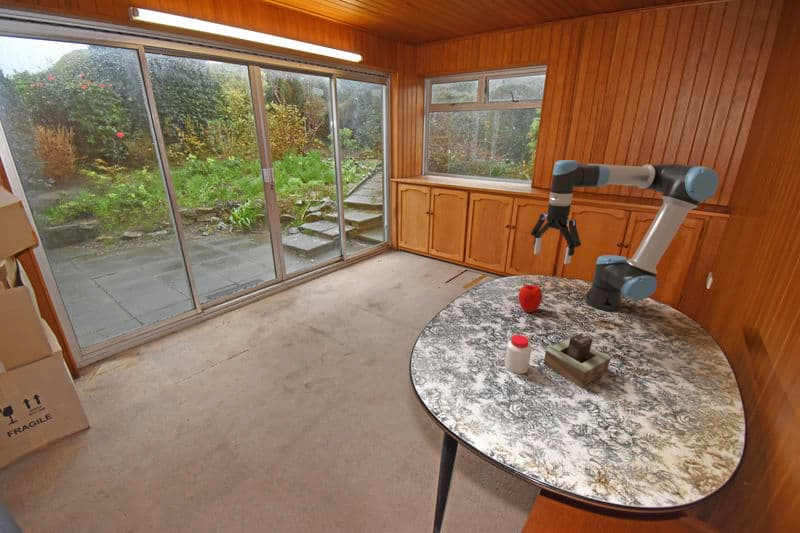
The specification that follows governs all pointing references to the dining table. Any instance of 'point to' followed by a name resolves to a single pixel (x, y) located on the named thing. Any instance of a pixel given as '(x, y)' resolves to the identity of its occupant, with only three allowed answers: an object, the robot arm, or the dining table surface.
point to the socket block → (576, 364)
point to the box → (579, 347)
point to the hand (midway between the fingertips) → (551, 258)
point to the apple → (530, 297)
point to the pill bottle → (518, 354)
